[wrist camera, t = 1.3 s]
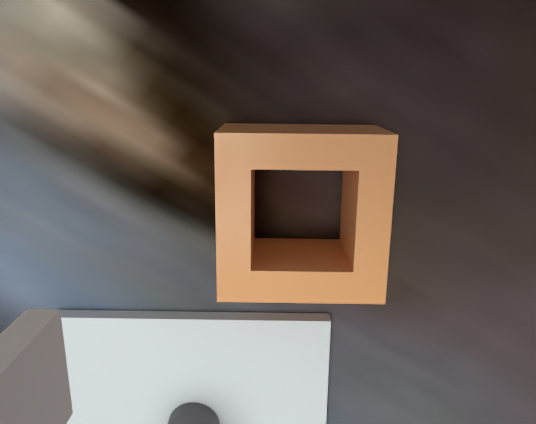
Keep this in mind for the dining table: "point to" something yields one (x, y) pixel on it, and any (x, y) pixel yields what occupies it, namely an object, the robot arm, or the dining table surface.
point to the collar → (305, 250)
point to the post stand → (197, 367)
